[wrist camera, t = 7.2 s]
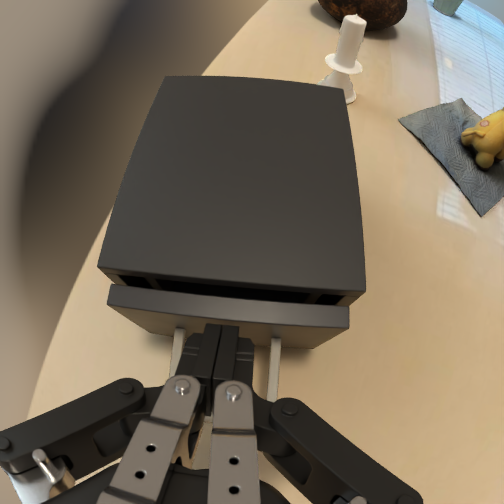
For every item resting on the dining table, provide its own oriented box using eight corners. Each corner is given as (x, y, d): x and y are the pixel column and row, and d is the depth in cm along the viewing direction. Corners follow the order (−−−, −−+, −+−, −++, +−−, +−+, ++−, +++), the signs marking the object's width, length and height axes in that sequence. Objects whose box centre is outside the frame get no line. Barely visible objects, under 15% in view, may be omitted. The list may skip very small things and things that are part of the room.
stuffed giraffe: (526, 173, 34) (579, 105, 20) (479, 219, 31) (556, 132, 16) (460, 101, 40) (495, 27, 25) (395, 125, 37) (433, 24, 22)
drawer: (308, 421, 21) (344, 439, 13) (141, 404, 21) (91, 410, 13) (314, 188, 29) (337, 120, 21) (180, 177, 30) (164, 107, 21)
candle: (319, 76, 38) (334, 1, 27) (356, 86, 38) (379, 14, 27) (313, 97, 36) (330, 15, 25) (354, 109, 36) (380, 30, 25)
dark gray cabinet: (318, 330, 25) (366, 291, 15) (149, 313, 25) (96, 266, 15) (318, 170, 31) (343, 88, 22) (182, 160, 32) (164, 75, 22)
